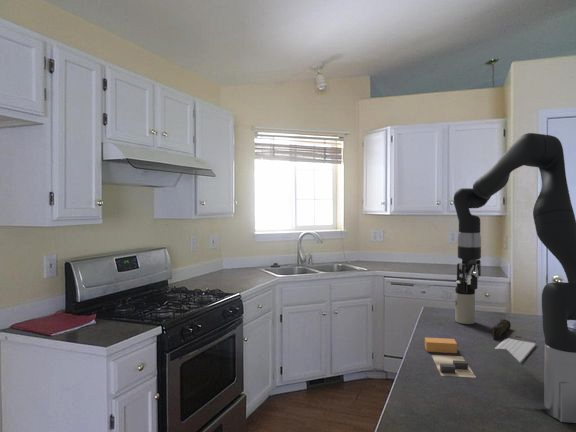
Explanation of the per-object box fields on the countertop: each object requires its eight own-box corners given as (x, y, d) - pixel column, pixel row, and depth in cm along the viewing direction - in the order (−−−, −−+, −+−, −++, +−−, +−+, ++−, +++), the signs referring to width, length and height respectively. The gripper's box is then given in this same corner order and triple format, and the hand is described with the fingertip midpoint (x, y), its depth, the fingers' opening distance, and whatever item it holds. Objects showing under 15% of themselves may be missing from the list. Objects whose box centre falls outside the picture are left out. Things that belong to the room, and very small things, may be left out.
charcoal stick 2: (467, 369, 129) (467, 363, 129) (454, 369, 129) (454, 362, 129) (466, 367, 131) (466, 361, 131) (452, 366, 131) (452, 360, 131)
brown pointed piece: (500, 327, 176) (500, 316, 176) (510, 329, 174) (510, 318, 174) (486, 339, 162) (486, 327, 162) (497, 341, 160) (497, 329, 160)
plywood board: (476, 382, 123) (476, 377, 123) (440, 380, 125) (440, 375, 125) (462, 360, 140) (462, 356, 140) (431, 359, 142) (431, 354, 142)
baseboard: (474, 364, 139) (513, 373, 131) (474, 355, 139) (513, 364, 131) (500, 340, 162) (535, 347, 154) (500, 332, 162) (535, 339, 154)
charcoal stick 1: (455, 373, 126) (455, 367, 126) (441, 372, 127) (441, 366, 127) (453, 370, 128) (453, 364, 128) (440, 370, 129) (440, 363, 129)
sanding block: (456, 358, 143) (457, 343, 143) (426, 356, 145) (426, 342, 145) (454, 352, 148) (454, 338, 148) (424, 351, 150) (424, 337, 150)
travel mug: (476, 321, 185) (476, 281, 185) (473, 325, 179) (473, 284, 178) (457, 318, 190) (457, 279, 189) (453, 323, 183) (453, 282, 182)
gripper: (471, 247, 139) (471, 295, 139) (488, 244, 148) (487, 289, 149) (449, 246, 144) (449, 292, 145) (467, 242, 154) (466, 286, 154)
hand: (468, 290), depth 147 cm, fingers open, 8 cm apart
